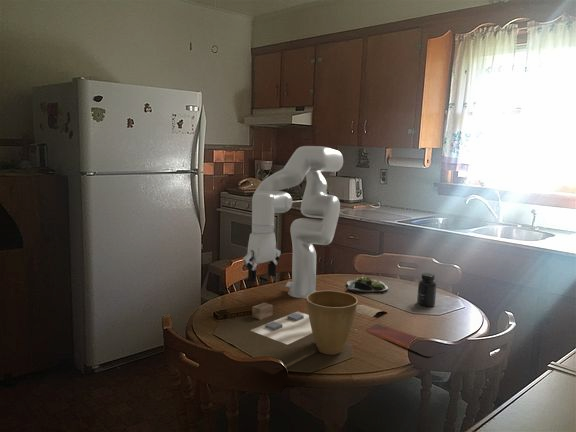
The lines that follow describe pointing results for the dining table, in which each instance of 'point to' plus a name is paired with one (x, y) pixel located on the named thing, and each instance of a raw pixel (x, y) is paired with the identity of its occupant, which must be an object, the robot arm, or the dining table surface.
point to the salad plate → (367, 286)
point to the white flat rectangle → (287, 329)
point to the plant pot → (331, 319)
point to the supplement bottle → (427, 290)
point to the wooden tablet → (391, 335)
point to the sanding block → (262, 311)
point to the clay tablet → (367, 310)
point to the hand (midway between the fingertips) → (262, 278)
